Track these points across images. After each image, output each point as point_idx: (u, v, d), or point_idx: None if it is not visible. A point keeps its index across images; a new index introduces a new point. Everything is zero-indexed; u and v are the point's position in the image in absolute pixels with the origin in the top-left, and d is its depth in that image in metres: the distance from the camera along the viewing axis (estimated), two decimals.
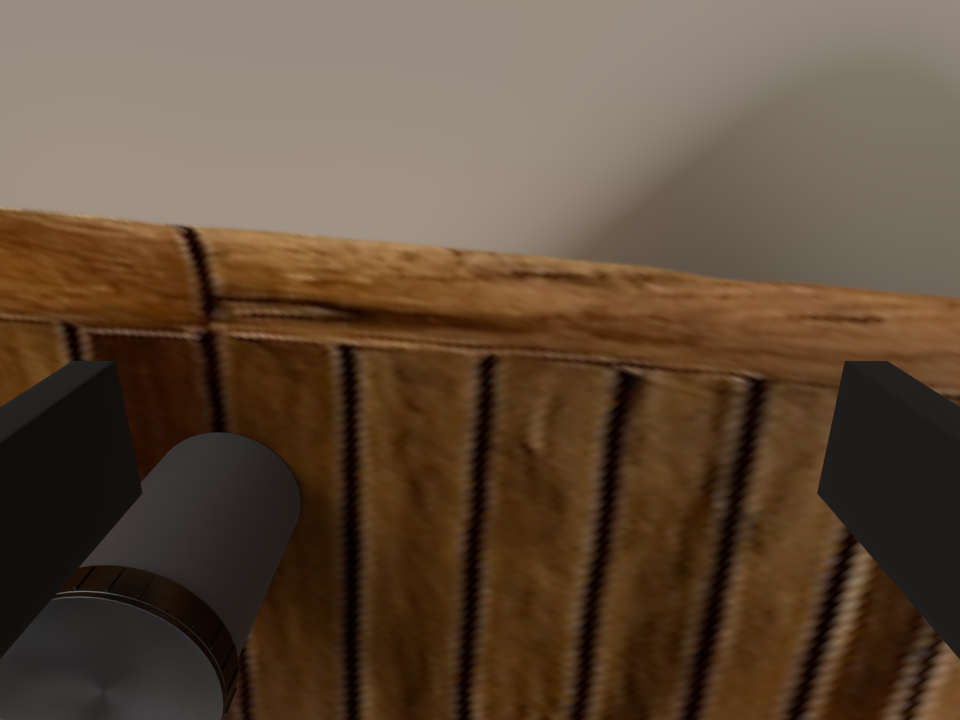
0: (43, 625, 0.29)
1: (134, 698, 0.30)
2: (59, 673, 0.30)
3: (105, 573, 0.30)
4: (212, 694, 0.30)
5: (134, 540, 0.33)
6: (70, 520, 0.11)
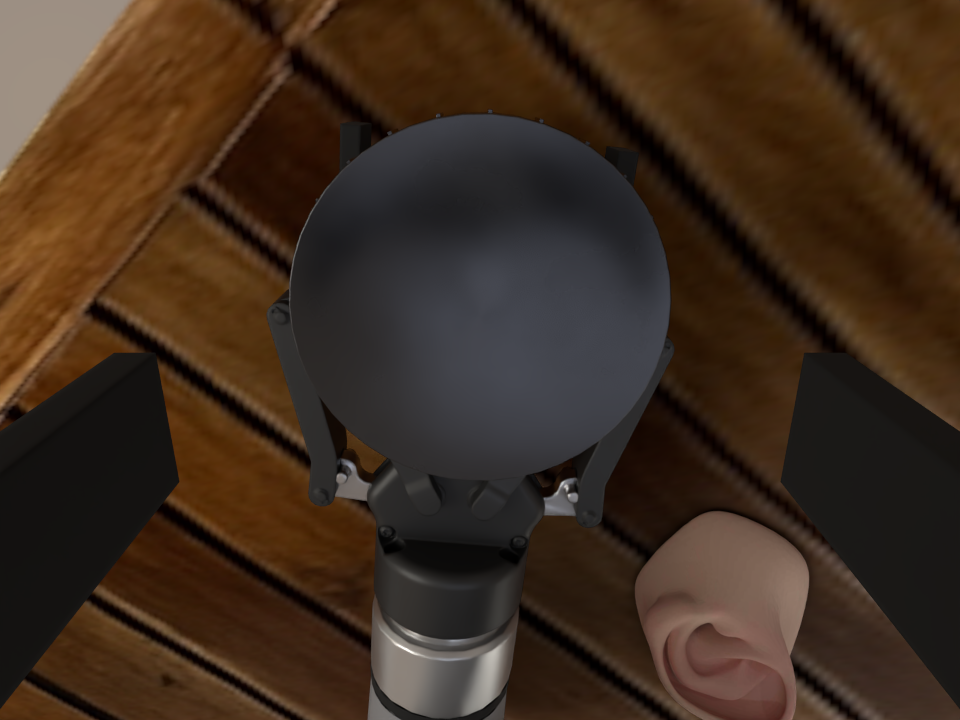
0: (330, 279, 0.19)
1: (520, 288, 0.19)
2: (410, 336, 0.19)
3: None
4: (603, 181, 0.18)
5: None
6: (116, 505, 0.11)
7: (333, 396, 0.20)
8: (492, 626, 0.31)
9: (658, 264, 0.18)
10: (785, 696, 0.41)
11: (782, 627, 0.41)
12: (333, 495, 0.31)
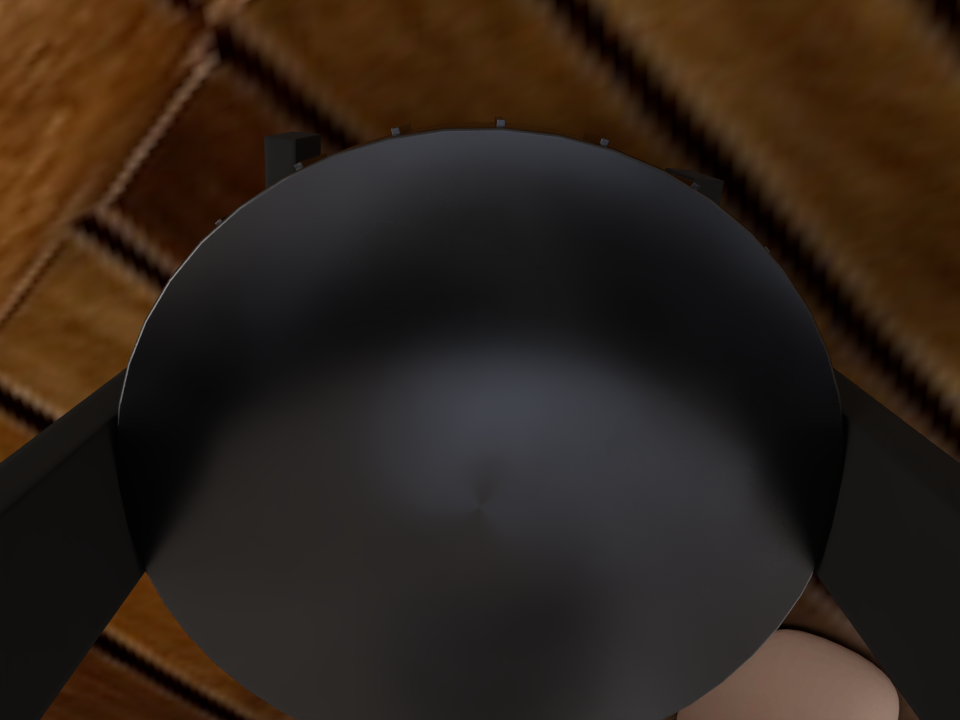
0: (192, 443, 0.10)
1: (556, 459, 0.10)
2: (349, 539, 0.10)
3: None
4: (728, 263, 0.09)
5: None
6: None
7: (214, 636, 0.11)
8: None
9: (824, 417, 0.10)
10: None
11: None
12: None
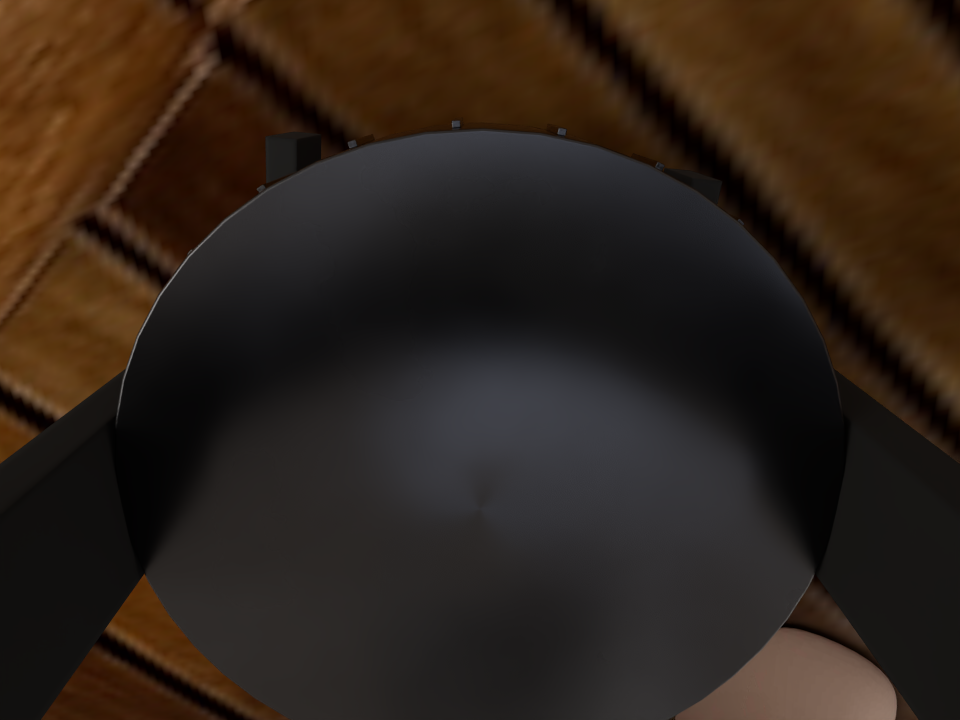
0: (427, 717, 0.11)
1: (420, 445, 0.10)
2: (523, 613, 0.11)
3: None
4: (191, 311, 0.09)
5: None
6: None
7: (635, 718, 0.12)
8: None
9: (343, 175, 0.08)
10: None
11: None
12: None
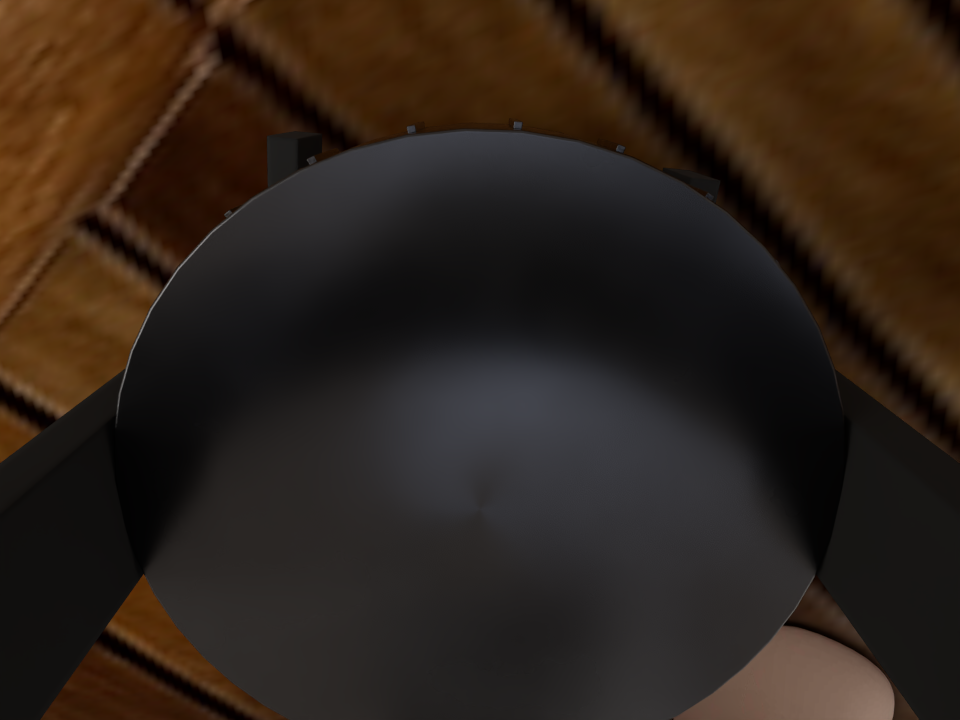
0: (755, 549, 0.10)
1: (412, 559, 0.10)
2: (613, 463, 0.10)
3: None
4: (308, 708, 0.11)
5: None
6: None
7: (785, 327, 0.09)
8: None
9: (181, 611, 0.11)
10: None
11: None
12: None
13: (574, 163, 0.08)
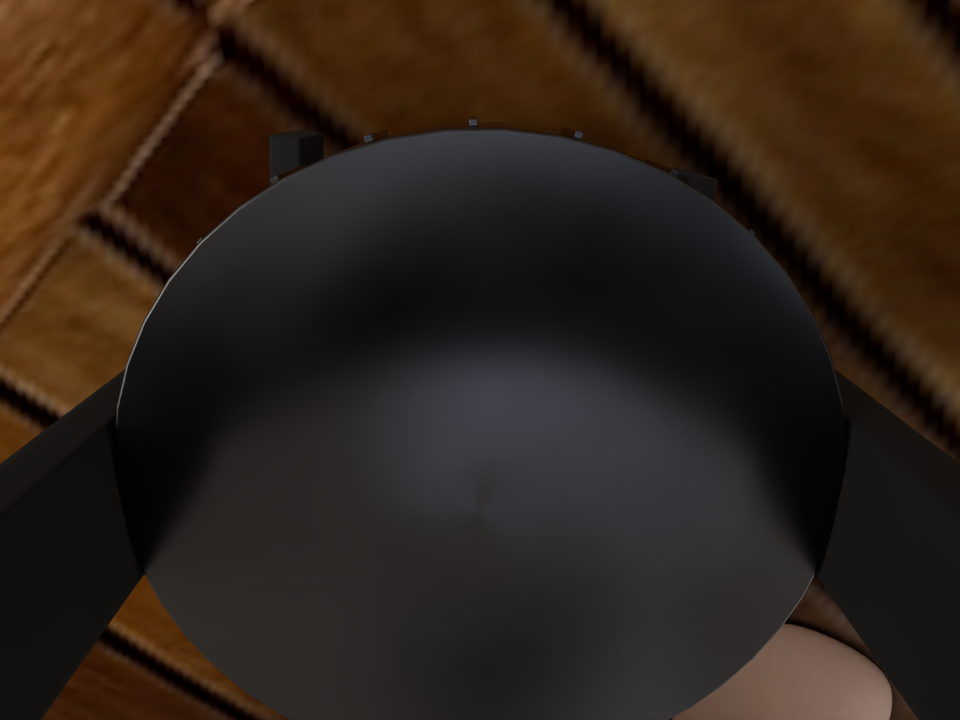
0: (522, 222, 0.08)
1: (541, 564, 0.10)
2: (418, 391, 0.09)
3: None
4: (729, 651, 0.11)
5: None
6: None
7: (243, 242, 0.09)
8: None
9: None
10: None
11: None
12: None
13: (132, 451, 0.10)
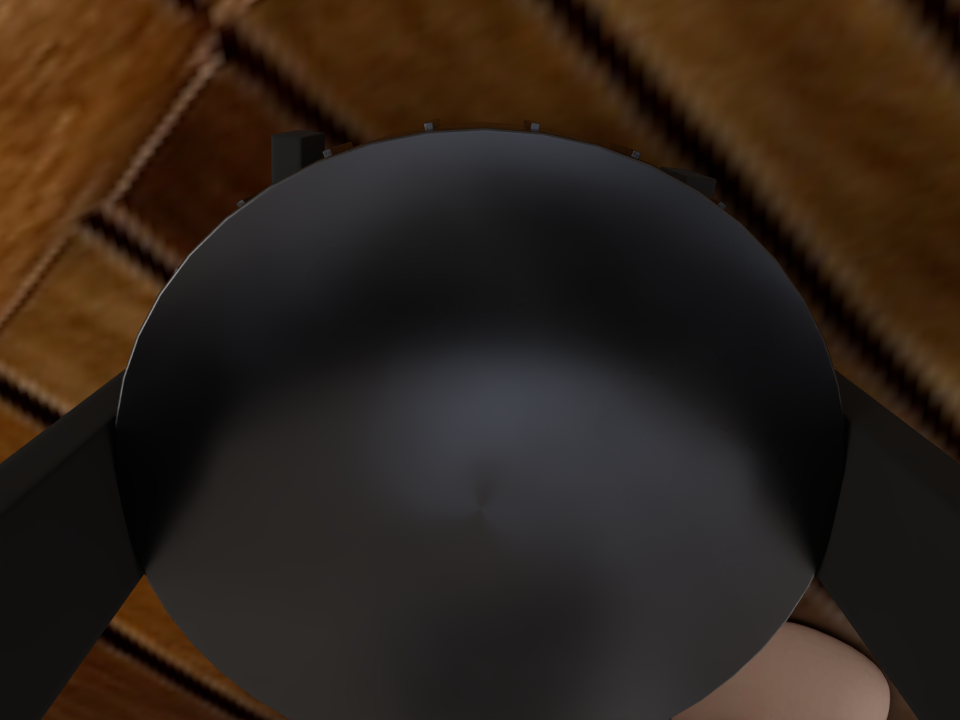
0: (190, 489, 0.10)
1: (547, 450, 0.10)
2: (359, 560, 0.10)
3: None
4: (681, 226, 0.09)
5: None
6: None
7: (248, 672, 0.11)
8: None
9: (813, 366, 0.09)
10: None
11: None
12: None
13: None
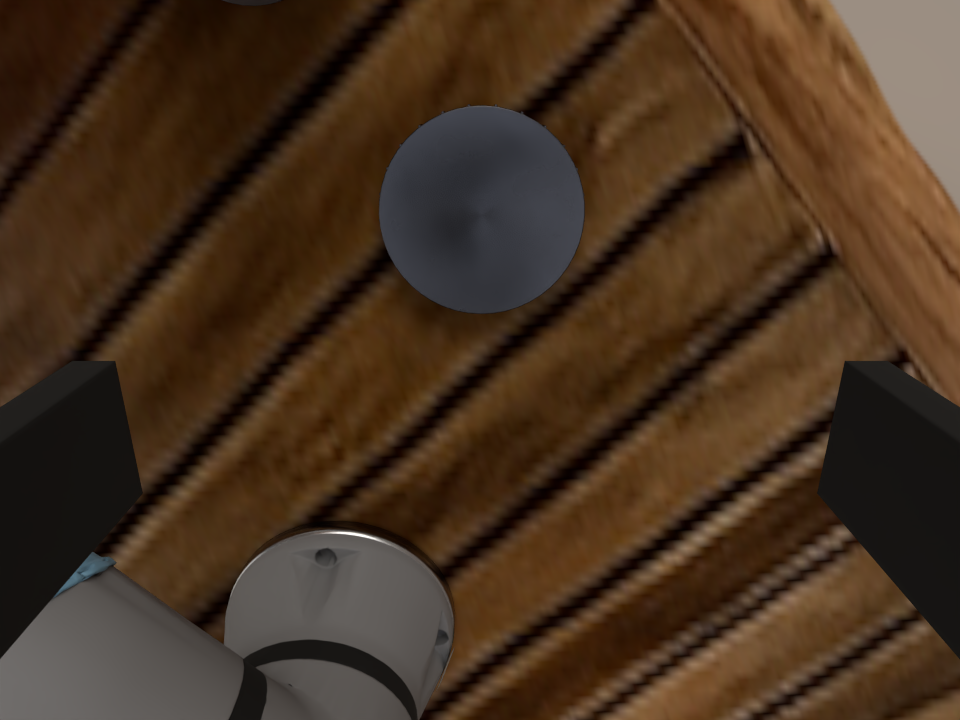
0: (400, 208, 0.35)
1: (500, 196, 0.35)
2: (446, 233, 0.35)
3: None
4: (533, 130, 0.34)
5: None
6: (70, 520, 0.11)
7: (410, 275, 0.36)
8: None
9: (571, 170, 0.34)
10: None
11: None
12: None
13: (468, 308, 0.37)
